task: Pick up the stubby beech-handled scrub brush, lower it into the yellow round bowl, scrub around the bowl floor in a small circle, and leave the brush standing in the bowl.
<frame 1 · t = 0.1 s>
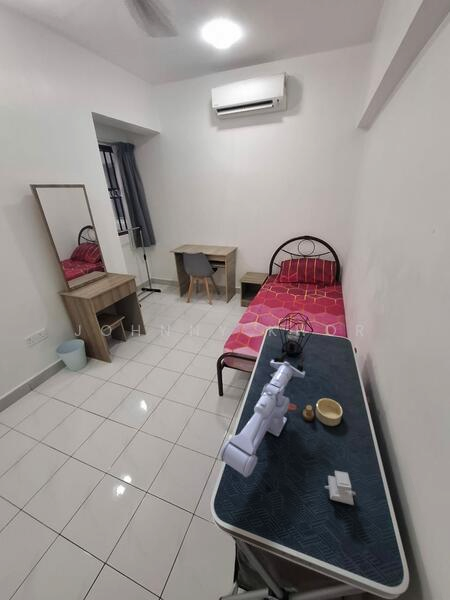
hand: (294, 356, 105), 22 cm above the table, tool horizontal, fingers open, 7 cm apart
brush: (307, 416, 103), on the table
stamp: (338, 494, 77), on the table
yellow round bowl: (327, 415, 102), on the table
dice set: (280, 376, 124), on the table
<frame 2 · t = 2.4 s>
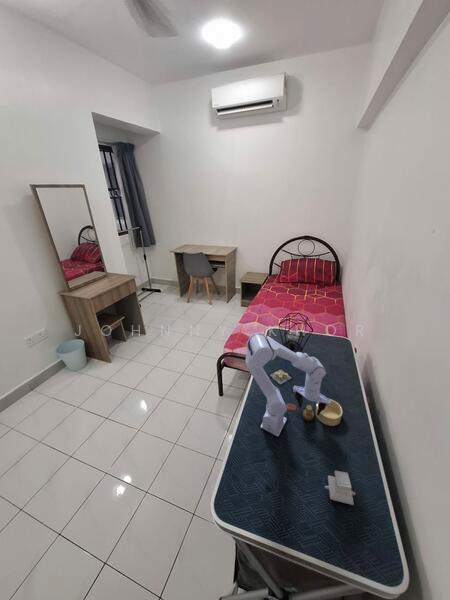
hand: (309, 409, 101), 4 cm above the table, tool pointing down, fingers open, 7 cm apart
nothing on the table moved.
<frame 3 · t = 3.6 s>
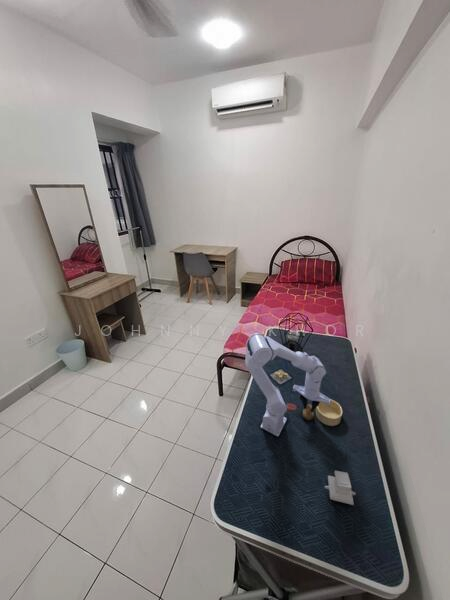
hand: (308, 408, 100), 5 cm above the table, tool pointing down, fingers closed on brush, 2 cm apart
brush: (307, 415, 102), point 1 cm above the table, touching gripper
everything else where it was.
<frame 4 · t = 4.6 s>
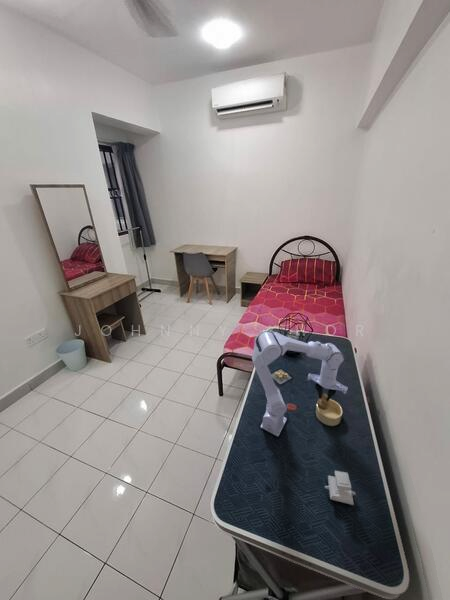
hand: (324, 398, 98), 10 cm above the table, tool pointing down, fingers closed on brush, 2 cm apart
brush: (322, 405, 100), point 6 cm above the table, touching gripper
everything else where it was.
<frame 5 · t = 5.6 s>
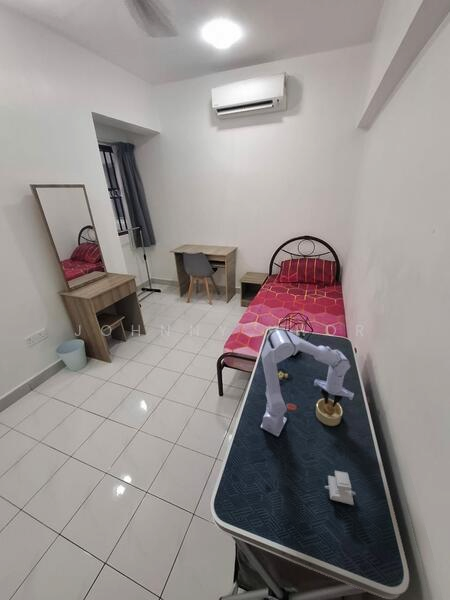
hand: (330, 403, 99), 7 cm above the table, tool pointing down, fingers closed on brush, 2 cm apart
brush: (328, 410, 101), point 3 cm above the table, touching gripper
everything else where it was.
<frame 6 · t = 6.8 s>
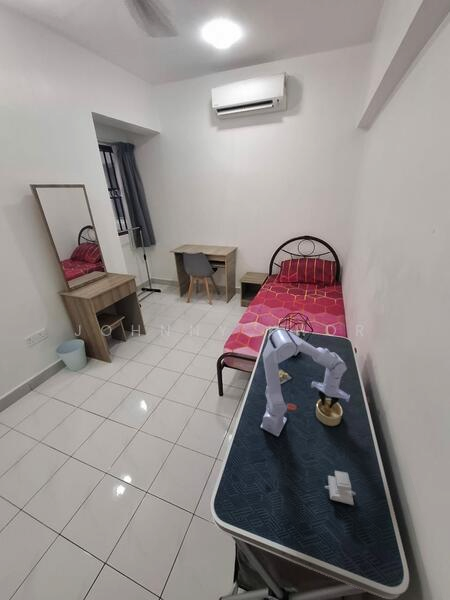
hand: (327, 405, 101), 5 cm above the table, tool pointing down, fingers closed on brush, 2 cm apart
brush: (325, 412, 103), point 1 cm above the table, touching gripper
everything else where it was.
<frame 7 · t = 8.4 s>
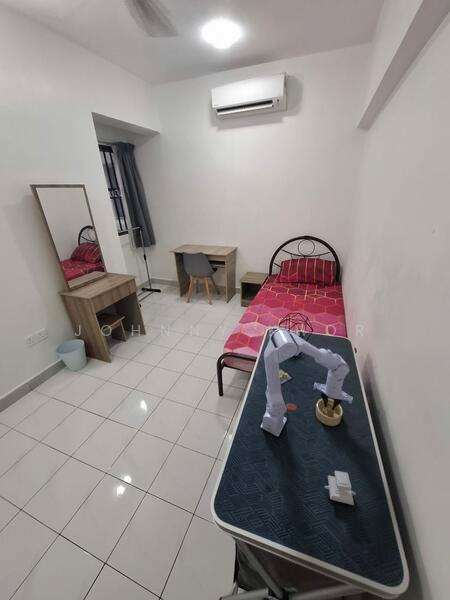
hand: (329, 407, 100), 5 cm above the table, tool pointing down, fingers closed on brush, 2 cm apart
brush: (328, 413, 102), point 1 cm above the table, touching gripper
everything else where it was.
when the fingers open (5 cm above the table, at t = 8.8 s): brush stays where it is, resting on yellow round bowl.
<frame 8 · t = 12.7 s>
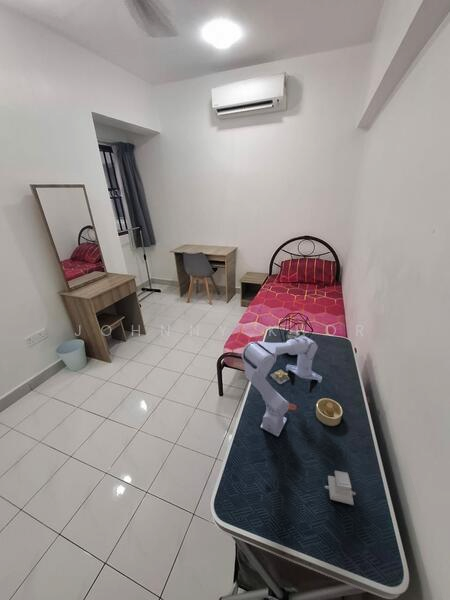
hand: (301, 387, 104), 10 cm above the table, tool pointing down, fingers open, 7 cm apart
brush: (328, 414, 102), point 1 cm above the table, touching yellow round bowl
everything else where it was.
at the end: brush 0.0 cm off-centre in the yellow round bowl, point 0.6 cm above the yellow round bowl's base; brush tilted 0°; the gripper is holding nothing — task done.
